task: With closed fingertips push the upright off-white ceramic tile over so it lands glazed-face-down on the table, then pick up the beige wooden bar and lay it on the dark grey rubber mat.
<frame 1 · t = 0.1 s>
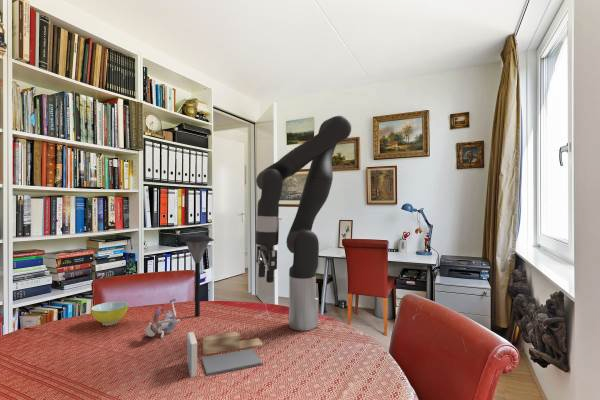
hand: (265, 279, 110), 17 cm above the table, tool pointing down, fingers open, 8 cm apart
tile: (191, 369, 85), on the table
mat: (231, 362, 89), on the table
beige wooden bar: (221, 349, 97), on the table
solar garden light: (197, 316, 125), on the table
figurine: (163, 335, 108), on the table
bowl: (110, 324, 117), on the table
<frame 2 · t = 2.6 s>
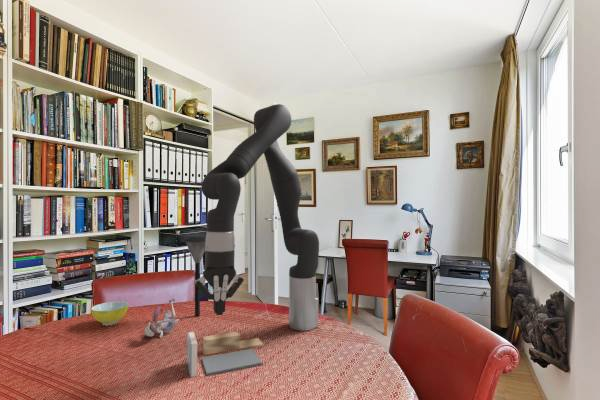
hand: (219, 314, 88), 13 cm above the table, tool pointing down, fingers closed
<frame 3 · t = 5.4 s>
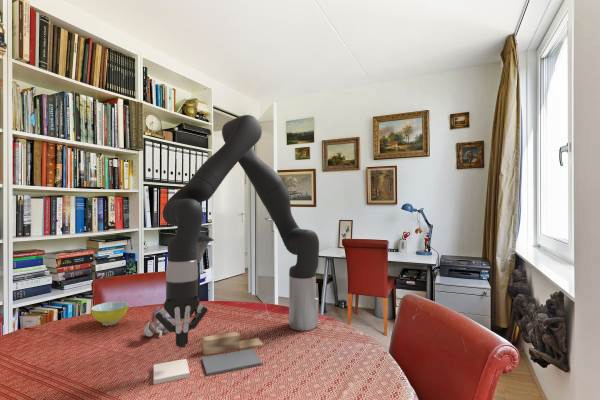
hand: (181, 346, 84), 6 cm above the table, tool pointing down, fingers closed
tile: (188, 368, 85), on the table, tilted 90°
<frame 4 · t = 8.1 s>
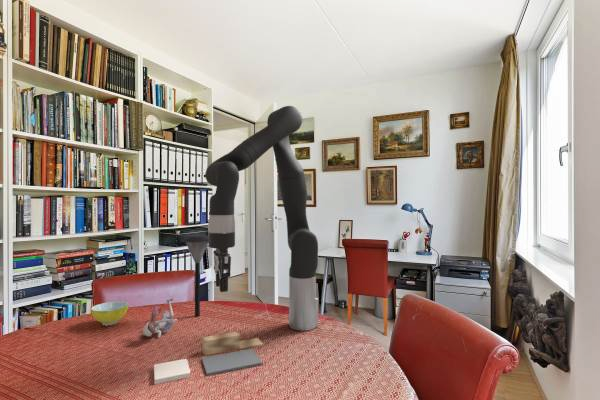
hand: (221, 288, 97), 18 cm above the table, tool pointing down, fingers open, 6 cm apart
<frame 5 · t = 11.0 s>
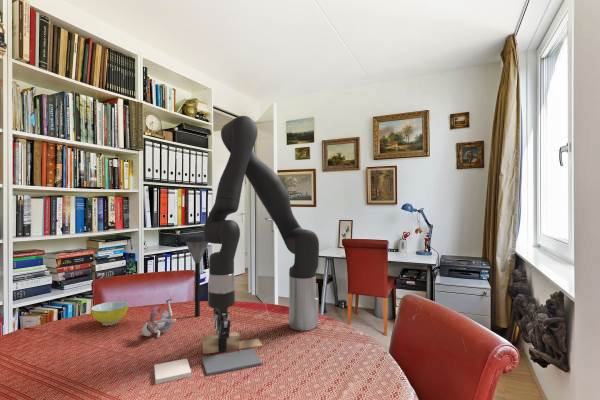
hand: (221, 348, 97), 0 cm above the table, tool pointing down, fingers closed on beige wooden bar, 2 cm apart
beige wooden bar: (220, 349, 97), on the table, touching gripper
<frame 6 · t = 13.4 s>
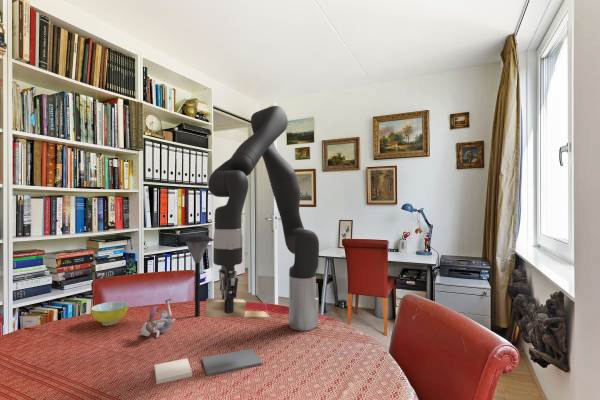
hand: (227, 310, 89), 14 cm above the table, tool pointing down, fingers closed on beige wooden bar, 3 cm apart
beige wooden bar: (224, 315, 88), point 13 cm above the table, tilted 8°, touching gripper
when the fingers open (3 cm above the table, at t = 16.0 s): beige wooden bar stays where it is, resting on mat.
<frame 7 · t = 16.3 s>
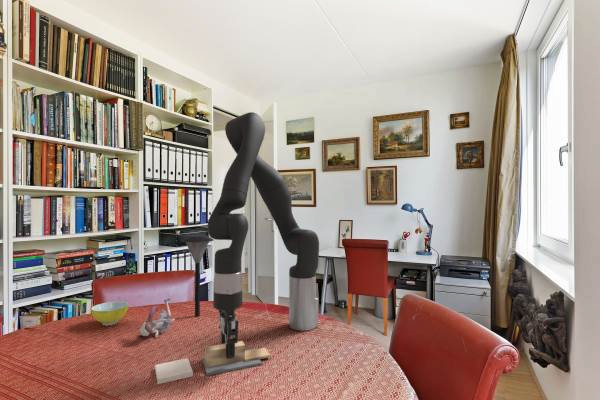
hand: (227, 352, 88), 3 cm above the table, tool pointing down, fingers open, 6 cm apart
beige wooden bar: (225, 361, 88), point 1 cm above the table, touching mat
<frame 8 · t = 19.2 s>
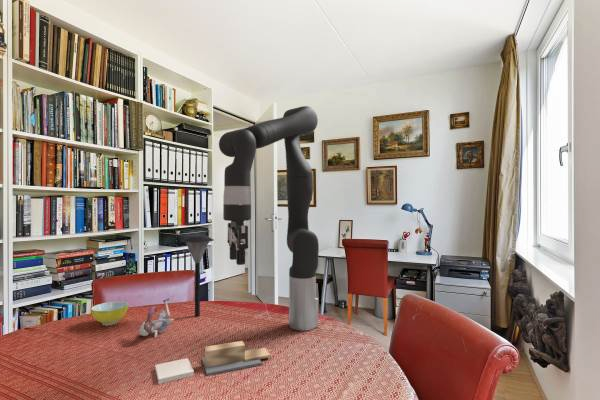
hand: (237, 261, 92), 26 cm above the table, tool pointing down, fingers open, 8 cm apart
at the end: tile tilted 90°; beige wooden bar inside the target area on the mat (1.7 cm from its centre), point 0.6 cm above the mat's base; the gripper is holding nothing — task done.
